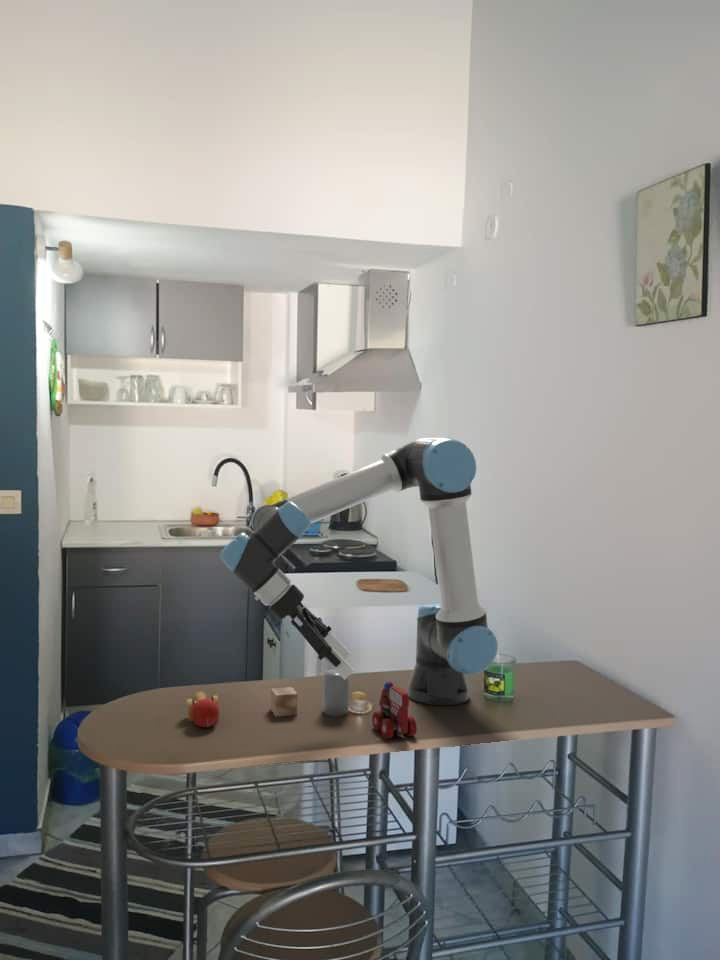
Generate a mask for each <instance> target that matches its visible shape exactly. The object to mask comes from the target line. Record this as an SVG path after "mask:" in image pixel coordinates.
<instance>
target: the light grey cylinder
mask: <svg viewBox="0 0 720 960" xmlns="http://www.w3.org/2000/svg"><path fill="white" fill-rule="evenodd" d="M350 676H351V674H350V675H349V676H348V677H347V678H346V679H345V680H344V679H343V678H342V677H341V676H340V674H339V673H338V672H337V671H336V670H335V669H334V668H333V669H328V670H325V671H324V672H323V688H322V689H323V690H322V691H323V692H322V713H323V714H325V715H328V716H334V717H337V716H338V717H339V716H346V715H347V714H349V707H350V706H349V705H350V703H349V702H350V681H351V680H350V678H351V677H350Z"/></svg>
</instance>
